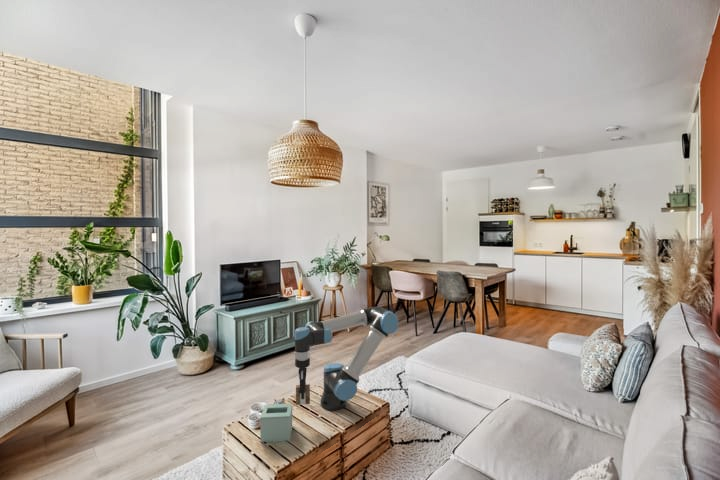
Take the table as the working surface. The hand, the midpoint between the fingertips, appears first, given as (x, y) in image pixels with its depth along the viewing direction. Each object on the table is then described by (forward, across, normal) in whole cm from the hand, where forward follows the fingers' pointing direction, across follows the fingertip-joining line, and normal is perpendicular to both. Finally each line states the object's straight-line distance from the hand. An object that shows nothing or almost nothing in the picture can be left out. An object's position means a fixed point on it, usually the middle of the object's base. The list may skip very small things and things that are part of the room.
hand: (303, 402), depth 181 cm
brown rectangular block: (0, 0, 0) cm, 0 cm away
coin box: (+12, +7, -13) cm, 19 cm away
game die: (+12, -12, -14) cm, 22 cm away
